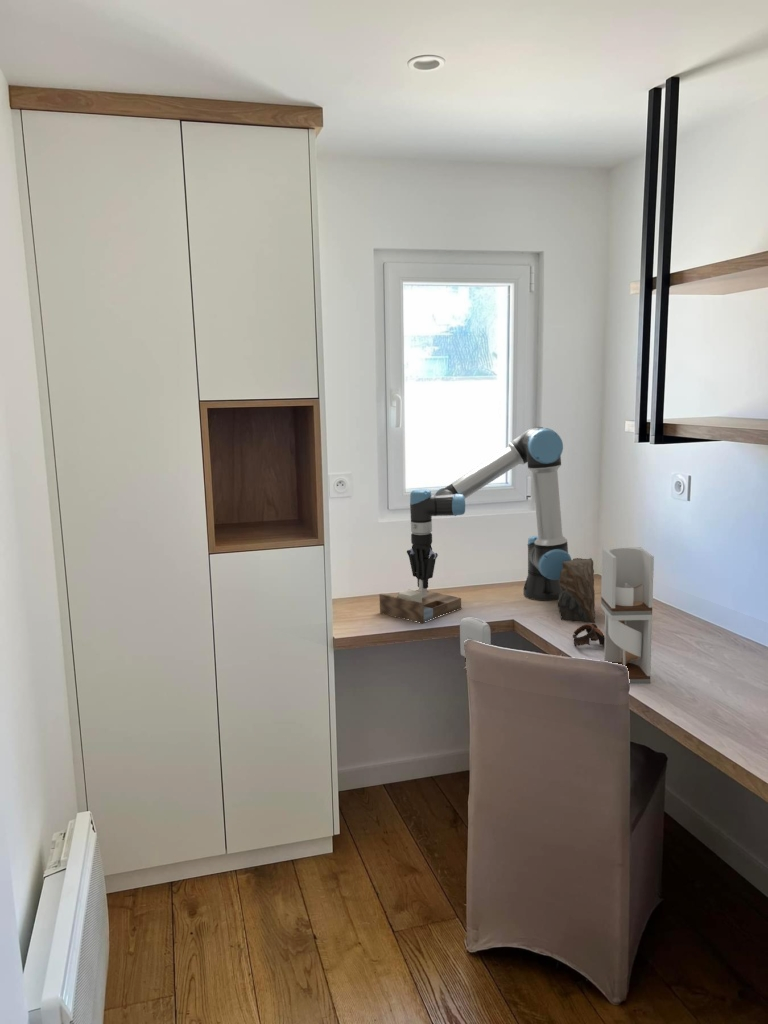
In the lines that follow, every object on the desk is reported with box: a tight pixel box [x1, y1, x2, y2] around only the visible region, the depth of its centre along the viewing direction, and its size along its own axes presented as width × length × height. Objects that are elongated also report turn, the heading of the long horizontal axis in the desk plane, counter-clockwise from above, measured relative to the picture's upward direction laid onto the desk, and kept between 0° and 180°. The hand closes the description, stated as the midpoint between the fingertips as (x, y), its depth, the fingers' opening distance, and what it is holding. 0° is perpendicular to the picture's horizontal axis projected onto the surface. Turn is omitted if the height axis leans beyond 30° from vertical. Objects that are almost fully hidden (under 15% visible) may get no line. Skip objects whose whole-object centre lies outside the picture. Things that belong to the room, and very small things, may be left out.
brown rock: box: [557, 557, 596, 624], centre depth 261 cm, size 13×13×20 cm
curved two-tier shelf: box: [600, 546, 655, 684], centre depth 207 cm, size 11×11×35 cm
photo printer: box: [459, 616, 492, 658], centre depth 226 cm, size 10×4×12 cm, turn 39°
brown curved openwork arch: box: [572, 623, 605, 649], centre depth 233 cm, size 12×10×8 cm
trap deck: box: [378, 588, 462, 624], centre depth 275 cm, size 20×22×7 cm
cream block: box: [397, 589, 422, 603], centre depth 271 cm, size 6×6×4 cm
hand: (423, 596), depth 275 cm, fingers closed
